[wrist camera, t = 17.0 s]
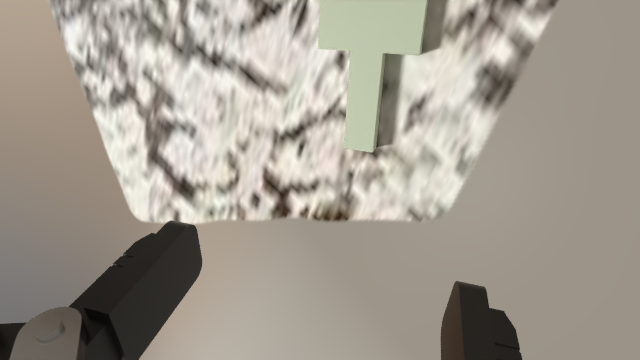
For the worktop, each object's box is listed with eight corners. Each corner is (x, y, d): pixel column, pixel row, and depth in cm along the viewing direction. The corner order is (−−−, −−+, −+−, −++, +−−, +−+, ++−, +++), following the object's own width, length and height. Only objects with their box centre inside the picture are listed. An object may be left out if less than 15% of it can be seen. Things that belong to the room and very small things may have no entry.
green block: (320, 139, 47) (314, 143, 45) (327, -43, 39) (321, -46, 38) (407, 152, 44) (404, 157, 42) (435, -44, 36) (433, -48, 34)
